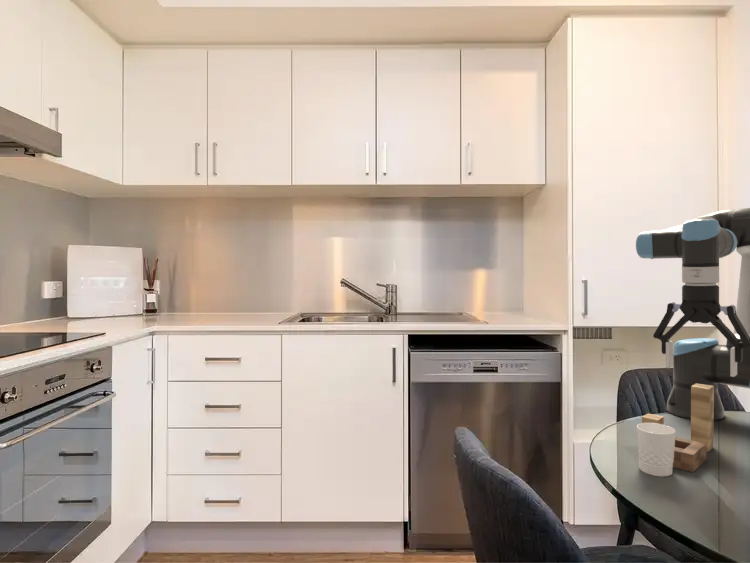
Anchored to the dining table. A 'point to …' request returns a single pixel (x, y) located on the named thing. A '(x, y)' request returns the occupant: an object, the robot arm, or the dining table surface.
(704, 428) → the long oak peg
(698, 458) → the walnut hole block
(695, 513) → the dining table surface
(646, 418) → the short oak peg
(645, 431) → the white cup
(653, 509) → the dining table surface
